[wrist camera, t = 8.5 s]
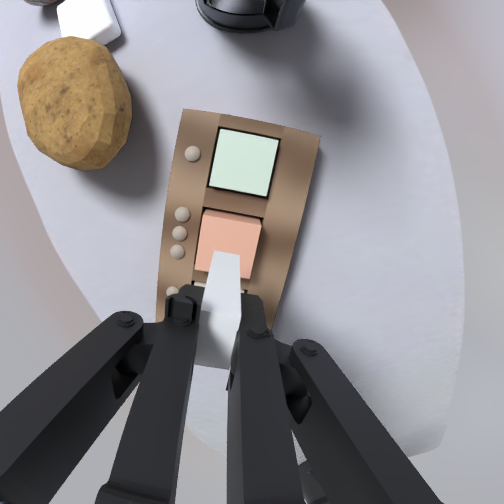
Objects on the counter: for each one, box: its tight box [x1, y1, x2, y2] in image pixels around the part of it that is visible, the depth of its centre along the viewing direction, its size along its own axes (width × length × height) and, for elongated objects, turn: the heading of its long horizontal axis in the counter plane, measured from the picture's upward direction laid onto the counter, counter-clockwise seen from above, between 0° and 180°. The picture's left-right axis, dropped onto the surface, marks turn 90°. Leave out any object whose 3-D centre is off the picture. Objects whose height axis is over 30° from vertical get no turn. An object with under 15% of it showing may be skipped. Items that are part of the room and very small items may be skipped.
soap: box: [57, 0, 121, 46], centre depth 16 cm, size 9×6×3 cm, turn 23°
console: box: [156, 109, 321, 330], centre depth 24 cm, size 20×11×3 cm, turn 168°
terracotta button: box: [195, 208, 262, 279], centre depth 23 cm, size 4×4×3 cm
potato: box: [17, 36, 132, 171], centre depth 17 cm, size 10×14×8 cm
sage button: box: [209, 129, 278, 196], centre depth 21 cm, size 4×4×3 cm
